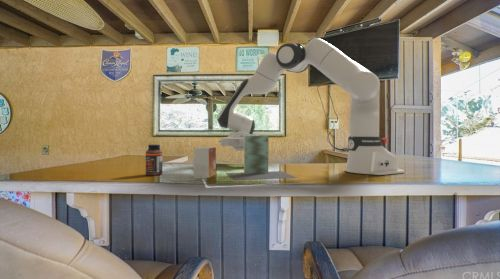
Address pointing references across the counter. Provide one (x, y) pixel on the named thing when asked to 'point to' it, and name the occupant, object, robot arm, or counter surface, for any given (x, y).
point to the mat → (260, 175)
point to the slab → (255, 154)
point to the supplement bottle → (153, 160)
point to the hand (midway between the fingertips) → (247, 142)
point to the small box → (204, 162)
